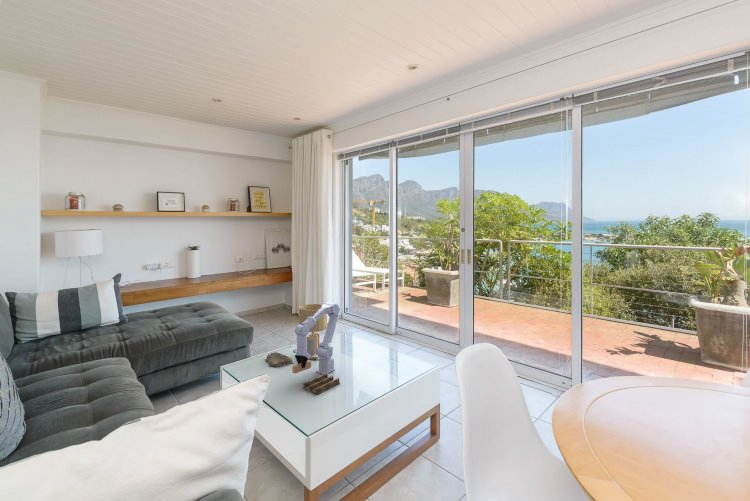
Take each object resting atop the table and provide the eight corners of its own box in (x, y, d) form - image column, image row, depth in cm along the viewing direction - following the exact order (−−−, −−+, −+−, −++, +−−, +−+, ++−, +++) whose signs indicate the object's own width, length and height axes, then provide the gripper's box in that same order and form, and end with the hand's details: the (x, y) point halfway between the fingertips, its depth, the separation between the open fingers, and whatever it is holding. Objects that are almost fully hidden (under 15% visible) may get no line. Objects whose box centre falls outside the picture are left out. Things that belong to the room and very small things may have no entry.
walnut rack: (326, 378, 214) (326, 373, 214) (339, 383, 207) (340, 378, 206) (302, 388, 200) (302, 383, 200) (316, 395, 193) (316, 389, 193)
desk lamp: (305, 349, 262) (305, 303, 259) (330, 351, 258) (330, 304, 255) (294, 359, 243) (294, 309, 240) (321, 362, 239) (321, 311, 236)
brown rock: (262, 359, 243) (273, 368, 227) (262, 352, 243) (273, 361, 227) (281, 355, 252) (293, 364, 236) (281, 349, 251) (293, 357, 236)
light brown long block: (308, 366, 215) (308, 360, 215) (311, 367, 214) (311, 361, 213) (292, 372, 206) (292, 366, 206) (295, 373, 205) (295, 367, 204)
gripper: (288, 343, 210) (288, 365, 211) (304, 349, 201) (304, 372, 202) (298, 341, 216) (298, 362, 217) (313, 346, 206) (313, 368, 208)
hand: (301, 367), depth 210 cm, fingers closed on light brown long block, 2 cm apart
